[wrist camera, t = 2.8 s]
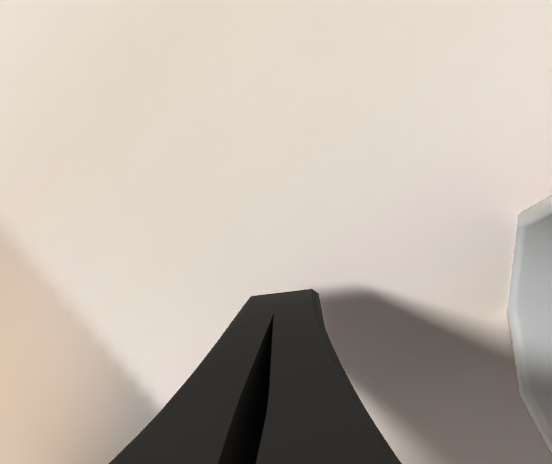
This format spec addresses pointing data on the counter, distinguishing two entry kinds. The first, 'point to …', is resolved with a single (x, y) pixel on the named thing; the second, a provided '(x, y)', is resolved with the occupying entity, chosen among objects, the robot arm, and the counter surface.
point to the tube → (533, 313)
